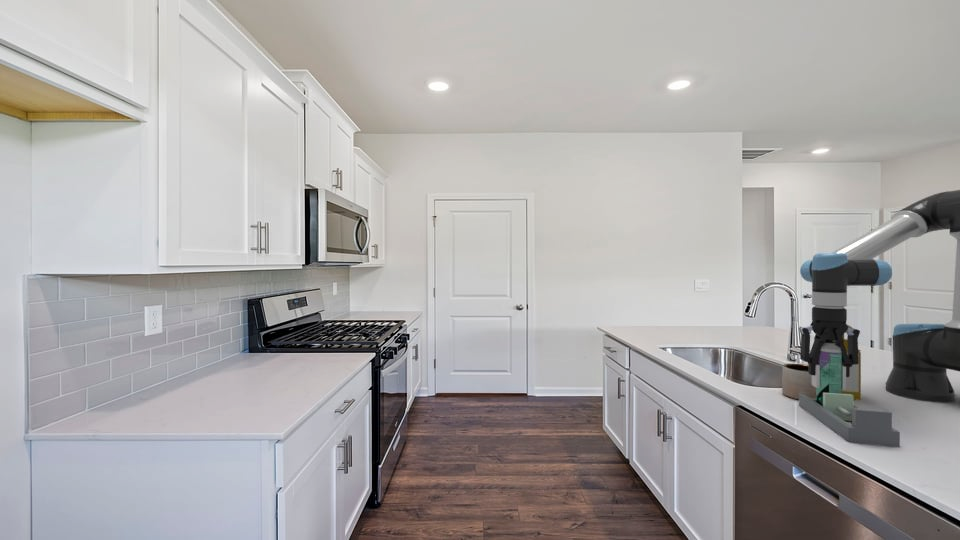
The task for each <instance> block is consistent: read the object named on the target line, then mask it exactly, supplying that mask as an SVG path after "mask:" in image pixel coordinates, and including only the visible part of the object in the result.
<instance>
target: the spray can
mask: <svg viewBox="0 0 960 540" xmlns="http://www.w3.org/2000/svg"><path fill="white" fill-rule="evenodd" d="M821 348H822V349H821V352H820V355H819V358H818V360H817V363H816V364H818V365H820V388H816V402H817V403H818V404H820V405H821V406H823V393H839V394H841V366H842V351H841V348H840V347H839V346H837V345H836V344H835V343H834V342H833V339H828V340H826V341H825V343H824V344H823V346H822V347H821Z"/></svg>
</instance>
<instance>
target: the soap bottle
mask: <svg viewBox="0 0 960 540" xmlns="http://www.w3.org/2000/svg"><path fill="white" fill-rule="evenodd" d="M847 326H848V328H853V327H852V326H851V325H849V324H847ZM845 334H847V331H846V332H845V333H844V334H843V335H842V337H843V340H844V346H845V349H846V352H847V354H848V341H847V339H846V338H845ZM861 351H862V350H860V349H858V359H859V363H858V364H857V365H855V364H854V365H852V367H850V376H849V377H846V390H843V389H841V394H851V395H853V396H854V400H856V399H858V401H860V400H861V396H862V395H861V394H862V393H861V392H862V390H861V388H862V387H861V386H862V385H861V384H862V383H861V382H862V381H861V380H862V379H861V378H862V374H861V373H862V372H861V371H862V368H861V367H862V363H861V362H862V357H861V355H862V354H861Z"/></svg>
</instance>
